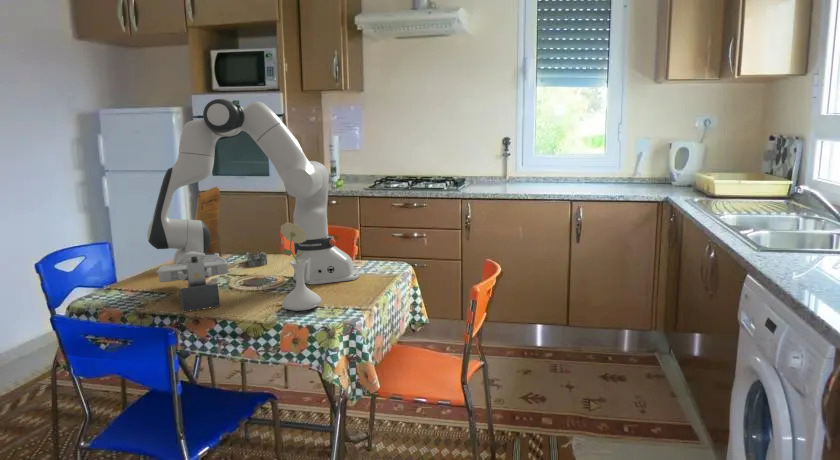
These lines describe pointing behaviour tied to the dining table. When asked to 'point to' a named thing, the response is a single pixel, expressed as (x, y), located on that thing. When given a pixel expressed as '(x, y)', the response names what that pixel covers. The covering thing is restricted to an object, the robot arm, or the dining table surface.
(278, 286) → the dining table surface
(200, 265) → the block
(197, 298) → the block
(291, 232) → the flower in vase
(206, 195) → the pancake mix bag
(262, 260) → the grey building model
